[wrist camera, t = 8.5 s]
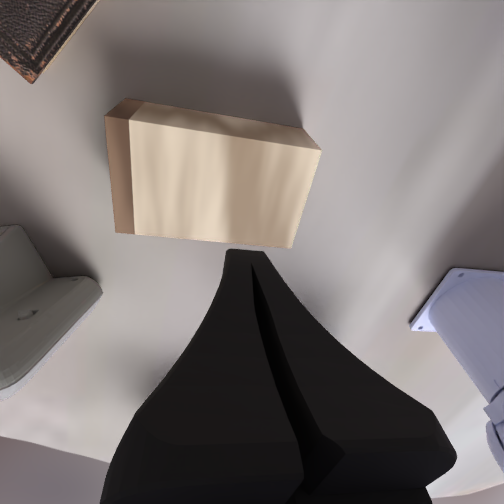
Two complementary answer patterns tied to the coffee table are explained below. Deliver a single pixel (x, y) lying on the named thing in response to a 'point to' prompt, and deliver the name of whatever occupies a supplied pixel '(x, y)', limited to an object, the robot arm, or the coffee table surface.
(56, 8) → the hardcover book
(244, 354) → the robot arm
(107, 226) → the coffee table surface
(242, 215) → the beech block
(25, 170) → the coffee table surface
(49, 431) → the coffee table surface
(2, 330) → the digital clock
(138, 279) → the coffee table surface
